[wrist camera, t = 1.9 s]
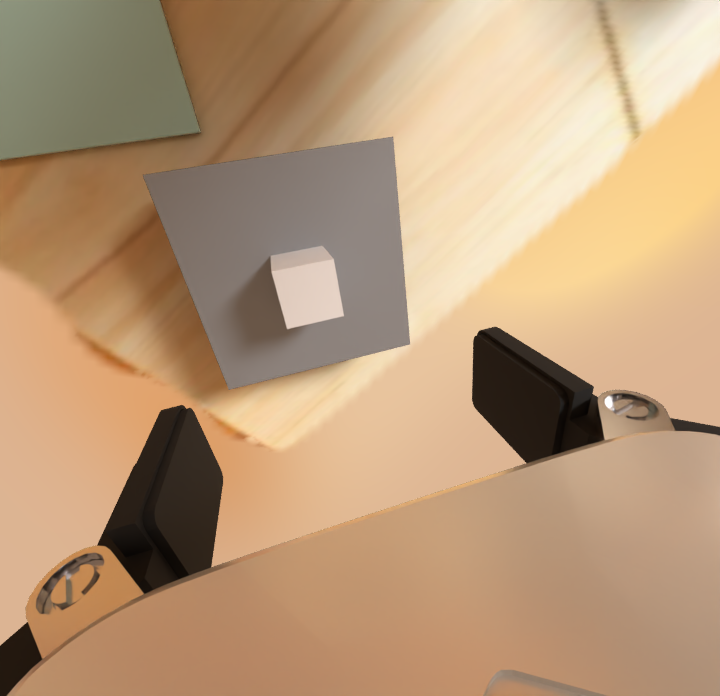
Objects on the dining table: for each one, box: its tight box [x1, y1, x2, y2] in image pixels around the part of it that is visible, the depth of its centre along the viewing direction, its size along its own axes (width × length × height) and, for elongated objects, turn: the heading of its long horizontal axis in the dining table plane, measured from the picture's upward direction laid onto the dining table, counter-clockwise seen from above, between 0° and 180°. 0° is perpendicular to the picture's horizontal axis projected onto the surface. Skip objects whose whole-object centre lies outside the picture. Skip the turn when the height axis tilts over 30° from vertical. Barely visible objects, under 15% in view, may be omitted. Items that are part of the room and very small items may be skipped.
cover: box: [143, 137, 410, 390], centre depth 26 cm, size 17×17×9 cm
